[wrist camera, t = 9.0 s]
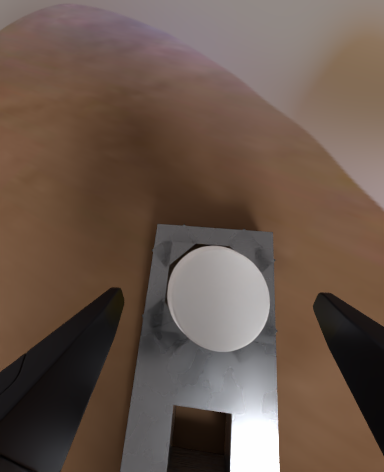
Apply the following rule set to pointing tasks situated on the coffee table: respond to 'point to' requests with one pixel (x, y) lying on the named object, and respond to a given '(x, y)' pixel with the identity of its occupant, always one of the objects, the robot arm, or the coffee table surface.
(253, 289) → the supplement bottle
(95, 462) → the coffee table surface
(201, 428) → the coffee table surface
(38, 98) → the coffee table surface
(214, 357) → the socket plate
